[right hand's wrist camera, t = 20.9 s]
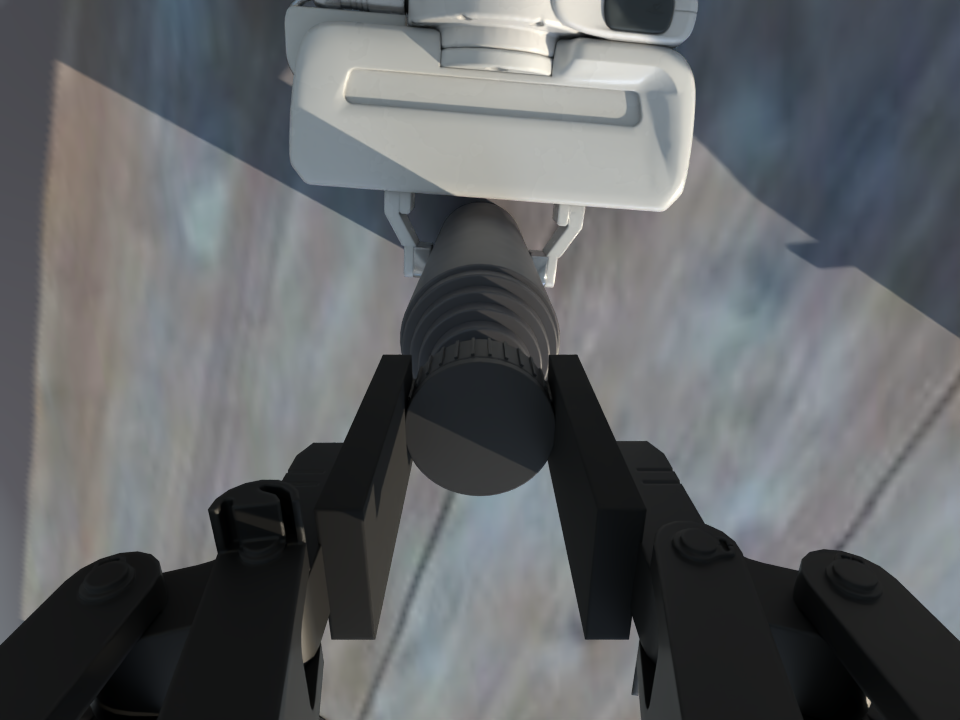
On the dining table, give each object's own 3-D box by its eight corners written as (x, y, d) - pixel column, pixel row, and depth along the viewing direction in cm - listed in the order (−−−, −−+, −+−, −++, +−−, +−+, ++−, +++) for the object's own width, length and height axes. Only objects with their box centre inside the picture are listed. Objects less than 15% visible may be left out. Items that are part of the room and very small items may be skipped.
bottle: (533, 266, 38) (618, 471, 14) (458, 296, 38) (424, 535, 15) (503, 188, 36) (546, 278, 13) (425, 221, 36) (330, 364, 13)
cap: (389, 436, 15) (379, 469, 14) (439, 313, 14) (434, 335, 12) (515, 480, 16) (519, 517, 14) (575, 367, 14) (586, 394, 13)
